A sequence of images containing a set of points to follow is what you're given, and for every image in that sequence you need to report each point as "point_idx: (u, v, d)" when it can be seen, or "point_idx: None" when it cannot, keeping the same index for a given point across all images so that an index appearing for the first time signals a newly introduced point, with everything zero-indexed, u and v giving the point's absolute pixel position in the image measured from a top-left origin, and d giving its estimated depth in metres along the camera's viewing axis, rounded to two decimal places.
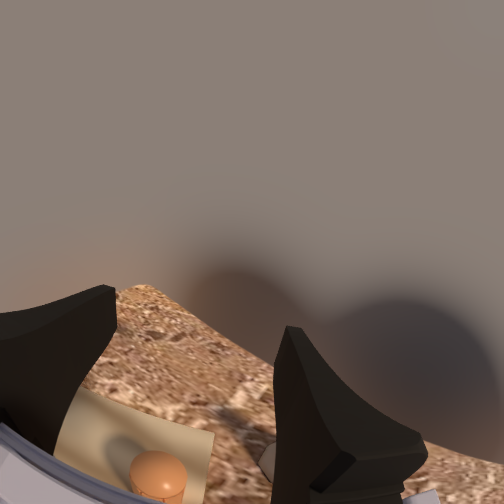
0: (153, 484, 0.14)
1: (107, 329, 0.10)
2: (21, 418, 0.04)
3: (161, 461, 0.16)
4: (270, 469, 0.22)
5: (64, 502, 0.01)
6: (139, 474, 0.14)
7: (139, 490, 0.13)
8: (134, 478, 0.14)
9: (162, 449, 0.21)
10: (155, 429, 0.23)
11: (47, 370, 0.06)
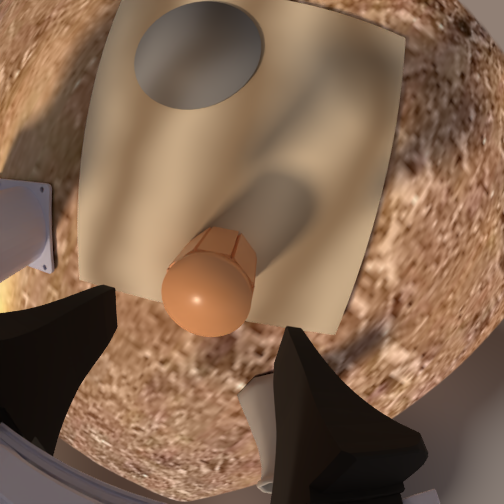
0: (180, 292, 0.13)
1: (107, 329, 0.10)
2: (21, 418, 0.04)
3: (229, 304, 0.13)
4: (268, 385, 0.22)
5: (64, 502, 0.01)
6: (192, 271, 0.13)
7: (170, 267, 0.13)
8: (182, 264, 0.13)
9: (300, 266, 0.18)
10: (338, 252, 0.17)
11: (47, 370, 0.06)
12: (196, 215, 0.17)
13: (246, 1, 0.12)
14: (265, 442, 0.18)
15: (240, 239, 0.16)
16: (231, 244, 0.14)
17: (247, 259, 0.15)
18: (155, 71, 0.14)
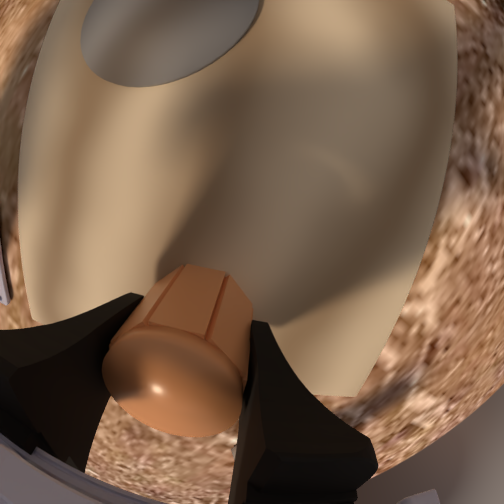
0: (129, 384, 0.07)
1: None
2: (56, 440, 0.04)
3: (206, 406, 0.07)
4: None
5: (64, 502, 0.01)
6: (142, 361, 0.07)
7: (112, 343, 0.07)
8: (124, 349, 0.07)
9: (316, 319, 0.12)
10: (372, 300, 0.11)
11: (81, 386, 0.06)
12: (162, 247, 0.11)
13: None
14: None
15: (226, 288, 0.10)
16: (209, 305, 0.09)
17: (236, 326, 0.09)
18: (105, 38, 0.08)
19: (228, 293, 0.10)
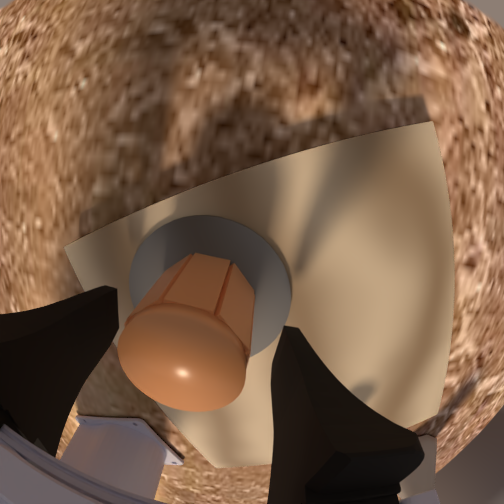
0: (143, 359, 0.08)
1: (109, 330, 0.10)
2: (24, 420, 0.04)
3: (213, 378, 0.08)
4: None
5: (64, 502, 0.01)
6: (157, 335, 0.08)
7: (128, 321, 0.08)
8: (141, 324, 0.08)
9: (398, 401, 0.16)
10: (426, 378, 0.15)
11: (49, 371, 0.06)
12: None
13: (218, 194, 0.12)
14: (407, 496, 0.15)
15: (232, 274, 0.11)
16: (217, 287, 0.10)
17: (241, 307, 0.10)
18: None
19: (233, 278, 0.11)
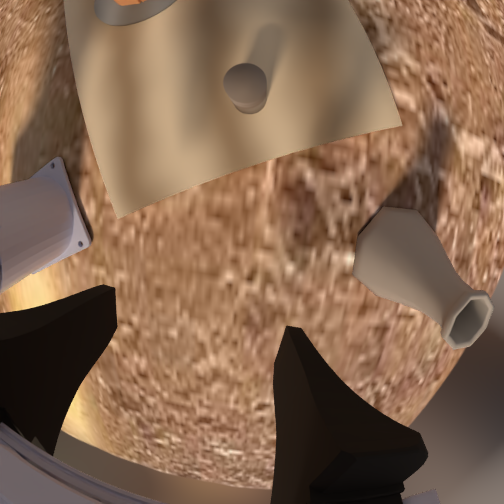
0: None
1: (107, 329, 0.10)
2: (21, 418, 0.04)
3: None
4: (377, 230, 0.17)
5: (64, 502, 0.01)
6: None
7: None
8: None
9: (323, 67, 0.14)
10: (346, 44, 0.13)
11: (47, 370, 0.06)
12: (205, 73, 0.14)
13: None
14: (415, 284, 0.13)
15: None
16: None
17: None
18: (117, 9, 0.12)
19: None
